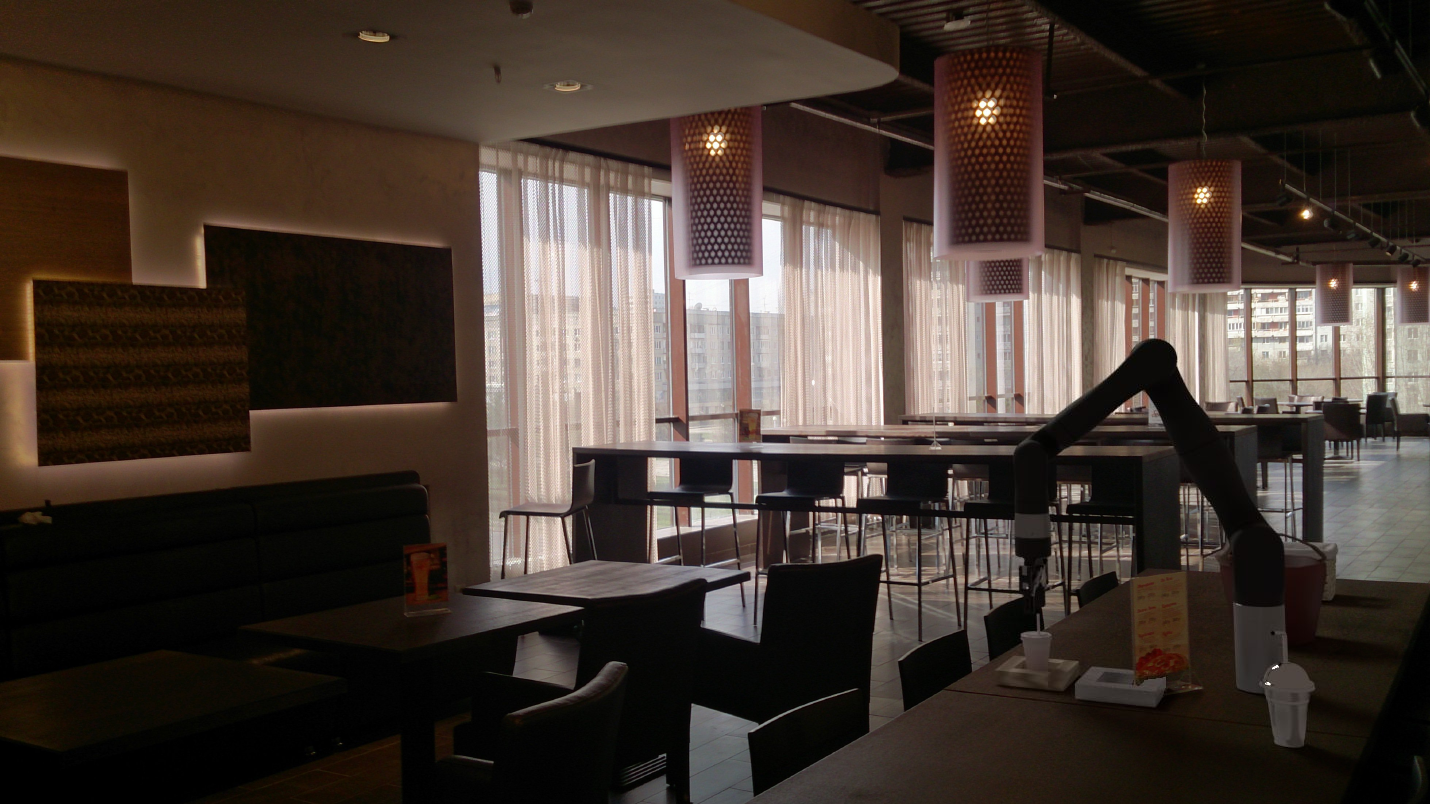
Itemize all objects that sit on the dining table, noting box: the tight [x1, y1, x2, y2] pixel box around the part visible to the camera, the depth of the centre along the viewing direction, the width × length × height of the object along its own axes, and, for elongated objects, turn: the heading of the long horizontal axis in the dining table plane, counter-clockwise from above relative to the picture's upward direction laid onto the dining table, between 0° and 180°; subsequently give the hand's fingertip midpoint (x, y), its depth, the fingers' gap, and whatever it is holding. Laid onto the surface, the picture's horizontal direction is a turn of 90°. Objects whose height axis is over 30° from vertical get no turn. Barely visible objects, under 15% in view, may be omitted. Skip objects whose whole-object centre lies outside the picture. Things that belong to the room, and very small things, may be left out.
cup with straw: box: [1259, 631, 1316, 748], centre depth 188 cm, size 8×9×20 cm
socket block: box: [994, 655, 1080, 692], centre depth 234 cm, size 14×14×3 cm
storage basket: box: [1283, 541, 1339, 602], centre depth 314 cm, size 24×16×15 cm
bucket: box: [1214, 532, 1327, 646], centre depth 265 cm, size 24×22×25 cm
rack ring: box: [1074, 666, 1166, 708], centre depth 222 cm, size 15×15×3 cm
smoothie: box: [1020, 613, 1053, 671], centre depth 234 cm, size 6×6×14 cm
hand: (1034, 610), depth 234 cm, fingers open, 8 cm apart
